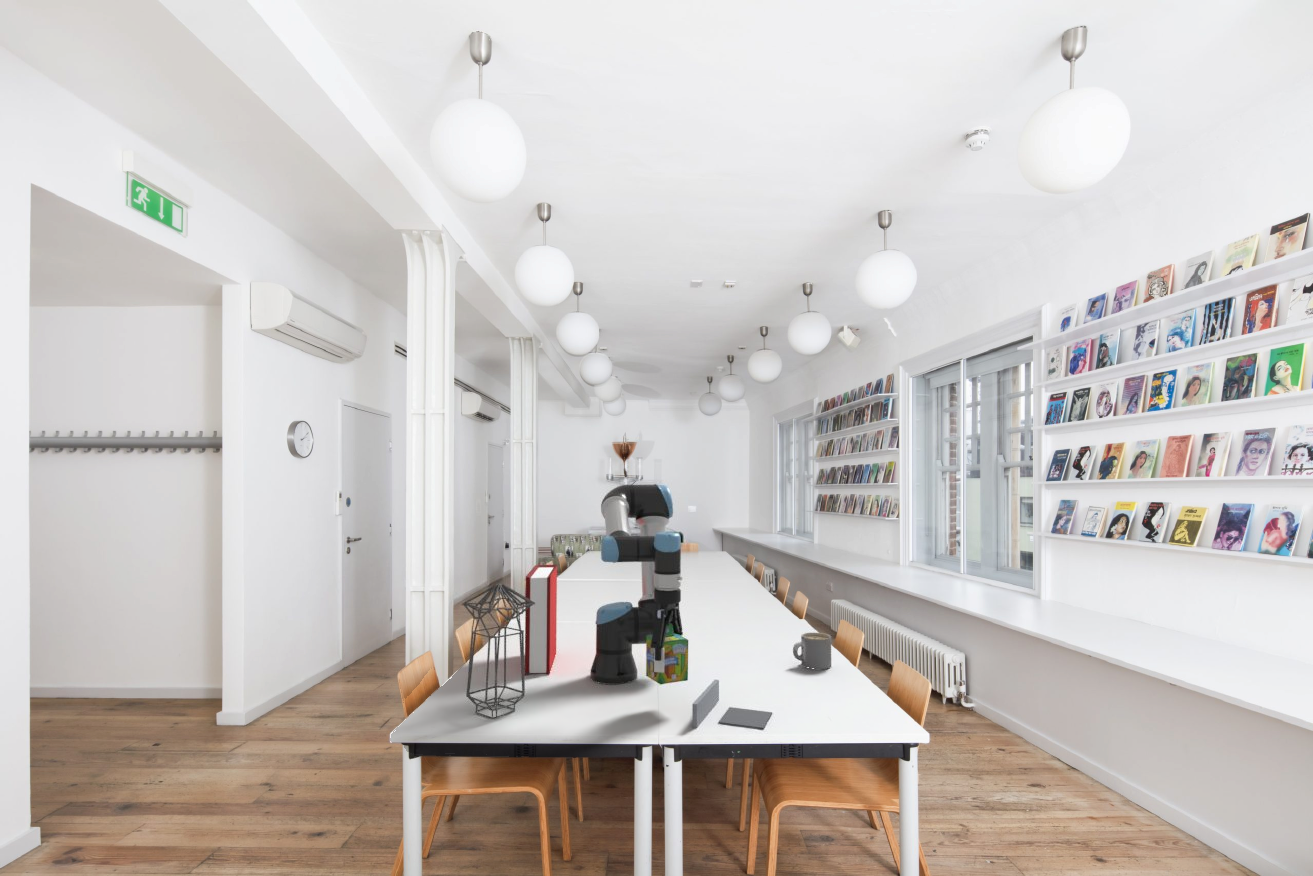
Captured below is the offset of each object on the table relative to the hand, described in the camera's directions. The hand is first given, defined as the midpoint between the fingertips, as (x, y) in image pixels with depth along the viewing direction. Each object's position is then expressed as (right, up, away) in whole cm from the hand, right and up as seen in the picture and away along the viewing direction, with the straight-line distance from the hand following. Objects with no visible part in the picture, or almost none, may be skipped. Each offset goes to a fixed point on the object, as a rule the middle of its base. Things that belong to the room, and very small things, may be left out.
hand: (667, 665), depth 189 cm
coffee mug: (+50, -15, +42) cm, 67 cm away
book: (-43, -15, +45) cm, 63 cm away
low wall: (+11, -12, -4) cm, 16 cm away
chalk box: (0, -4, 0) cm, 4 cm away
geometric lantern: (-47, -12, -2) cm, 49 cm away
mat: (+21, -12, -8) cm, 25 cm away
